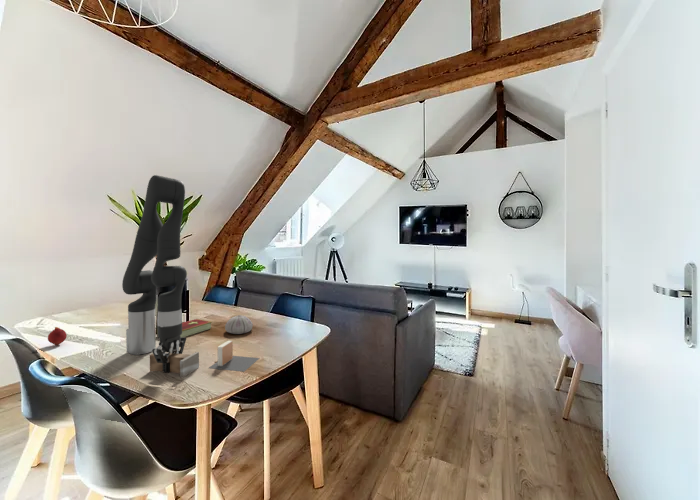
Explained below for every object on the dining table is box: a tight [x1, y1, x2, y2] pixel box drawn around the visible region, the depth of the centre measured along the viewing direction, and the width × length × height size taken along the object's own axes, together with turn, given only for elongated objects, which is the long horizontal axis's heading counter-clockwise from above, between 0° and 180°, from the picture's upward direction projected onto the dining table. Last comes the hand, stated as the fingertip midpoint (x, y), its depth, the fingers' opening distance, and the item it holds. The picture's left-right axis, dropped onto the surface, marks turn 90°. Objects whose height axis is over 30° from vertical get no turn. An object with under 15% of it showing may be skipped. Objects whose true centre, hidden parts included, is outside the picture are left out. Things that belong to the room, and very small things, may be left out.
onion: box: [47, 326, 68, 346], centre depth 129 cm, size 6×6×8 cm
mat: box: [208, 355, 260, 373], centre depth 113 cm, size 14×12×1 cm
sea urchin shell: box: [224, 314, 254, 335], centre depth 151 cm, size 13×14×8 cm
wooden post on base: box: [149, 351, 200, 378], centre depth 106 cm, size 15×8×6 cm, turn 81°
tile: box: [217, 340, 234, 366], centre depth 113 cm, size 2×7×7 cm, turn 170°
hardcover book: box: [156, 318, 213, 338], centre depth 149 cm, size 12×21×4 cm, turn 155°
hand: (170, 370), depth 106 cm, fingers closed on wooden post on base, 3 cm apart
